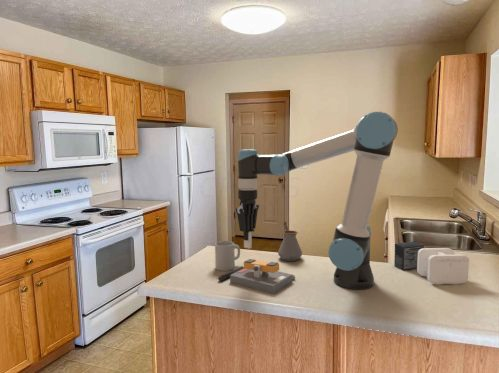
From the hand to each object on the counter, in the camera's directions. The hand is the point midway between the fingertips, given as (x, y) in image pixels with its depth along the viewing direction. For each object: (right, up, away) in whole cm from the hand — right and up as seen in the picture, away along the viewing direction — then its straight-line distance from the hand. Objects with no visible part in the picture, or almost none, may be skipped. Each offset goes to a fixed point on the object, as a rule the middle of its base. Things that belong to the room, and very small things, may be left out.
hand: (247, 247), depth 145 cm
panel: (+5, -13, -2) cm, 14 cm away
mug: (-9, -12, +16) cm, 22 cm away
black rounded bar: (-7, -13, +5) cm, 15 cm away
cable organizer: (+76, -13, -2) cm, 77 cm away
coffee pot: (+19, -9, +32) cm, 38 cm away
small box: (+70, -11, +13) cm, 72 cm away
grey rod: (+12, -12, +5) cm, 18 cm away
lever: (+5, -8, -3) cm, 10 cm away
